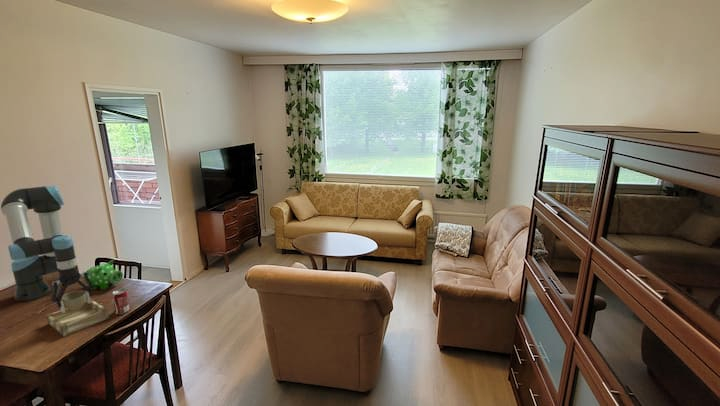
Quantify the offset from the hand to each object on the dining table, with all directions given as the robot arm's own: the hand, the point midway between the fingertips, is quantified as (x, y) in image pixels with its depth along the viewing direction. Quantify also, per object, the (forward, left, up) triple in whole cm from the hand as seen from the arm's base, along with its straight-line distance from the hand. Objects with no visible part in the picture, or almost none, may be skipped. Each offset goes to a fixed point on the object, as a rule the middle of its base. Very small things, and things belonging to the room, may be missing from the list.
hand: (76, 307), depth 174 cm
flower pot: (0, 0, -1) cm, 1 cm away
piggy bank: (-31, +24, -8) cm, 40 cm away
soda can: (+9, +16, -8) cm, 20 cm away
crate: (0, 0, -8) cm, 8 cm away
